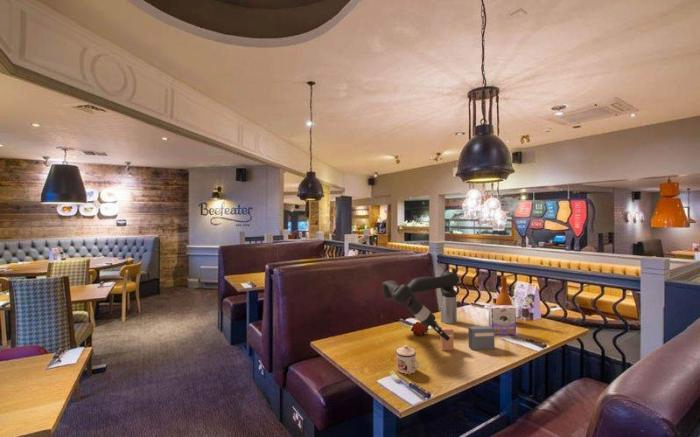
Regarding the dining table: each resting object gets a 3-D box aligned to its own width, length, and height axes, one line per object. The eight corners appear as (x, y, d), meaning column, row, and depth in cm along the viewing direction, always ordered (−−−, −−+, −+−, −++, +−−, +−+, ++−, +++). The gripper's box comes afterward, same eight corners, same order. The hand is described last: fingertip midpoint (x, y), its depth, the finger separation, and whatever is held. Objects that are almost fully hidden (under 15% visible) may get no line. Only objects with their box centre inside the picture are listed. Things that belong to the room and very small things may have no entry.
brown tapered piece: (515, 324, 207) (515, 277, 206) (500, 324, 207) (499, 278, 206) (508, 319, 216) (507, 274, 216) (493, 319, 217) (492, 275, 216)
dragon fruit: (430, 336, 195) (412, 341, 192) (423, 324, 201) (406, 329, 198) (433, 328, 189) (415, 333, 186) (426, 316, 196) (408, 321, 193)
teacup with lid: (392, 369, 152) (391, 345, 152) (405, 363, 158) (405, 340, 157) (411, 379, 143) (411, 353, 142) (425, 373, 148) (424, 348, 148)
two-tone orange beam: (442, 350, 171) (442, 329, 171) (440, 347, 175) (439, 327, 175) (453, 350, 171) (453, 329, 171) (451, 346, 175) (450, 326, 175)
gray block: (471, 349, 171) (471, 329, 171) (468, 346, 175) (468, 326, 175) (494, 349, 172) (494, 328, 171) (491, 345, 176) (490, 325, 175)
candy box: (512, 331, 195) (512, 304, 194) (516, 335, 189) (516, 307, 189) (488, 331, 196) (488, 304, 196) (491, 335, 190) (491, 307, 190)
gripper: (416, 316, 179) (437, 336, 180) (422, 325, 165) (445, 346, 165) (425, 306, 179) (446, 326, 180) (432, 314, 165) (455, 336, 165)
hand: (445, 336), depth 173 cm, fingers open, 8 cm apart
